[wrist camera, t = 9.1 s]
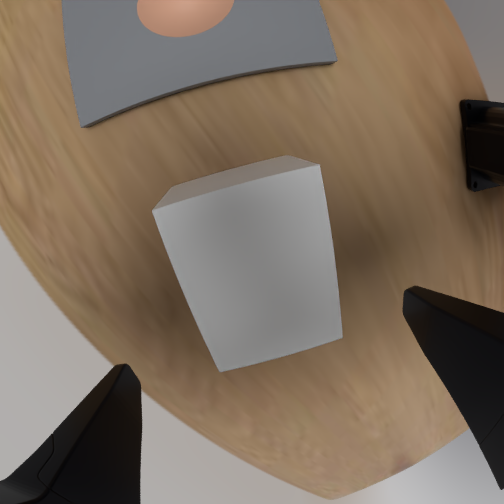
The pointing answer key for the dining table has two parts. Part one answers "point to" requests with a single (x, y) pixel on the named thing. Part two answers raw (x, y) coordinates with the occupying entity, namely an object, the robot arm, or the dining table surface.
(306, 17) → the board
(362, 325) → the dining table surface
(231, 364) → the white rectangular block
